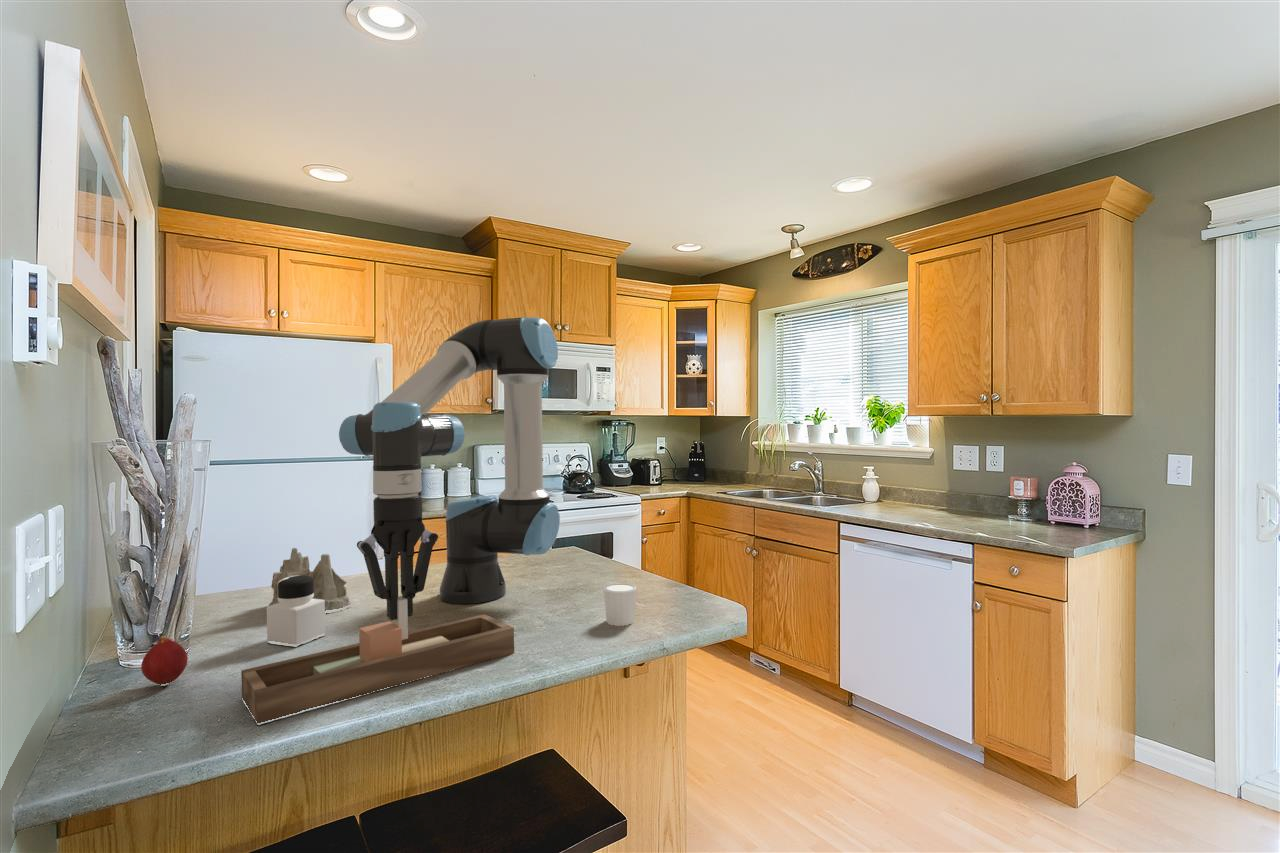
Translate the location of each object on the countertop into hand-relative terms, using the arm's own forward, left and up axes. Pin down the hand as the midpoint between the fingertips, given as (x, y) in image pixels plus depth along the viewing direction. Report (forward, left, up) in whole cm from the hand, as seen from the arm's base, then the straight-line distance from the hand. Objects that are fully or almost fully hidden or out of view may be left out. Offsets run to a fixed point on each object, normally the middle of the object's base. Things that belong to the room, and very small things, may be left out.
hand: (400, 637), depth 106 cm
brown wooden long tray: (0, -2, -6) cm, 6 cm away
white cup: (+5, +43, -6) cm, 44 cm away
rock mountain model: (-51, -1, -6) cm, 51 cm away
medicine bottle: (-29, -9, -6) cm, 31 cm away
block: (0, -3, -3) cm, 4 cm away
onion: (-20, -30, -6) cm, 36 cm away
